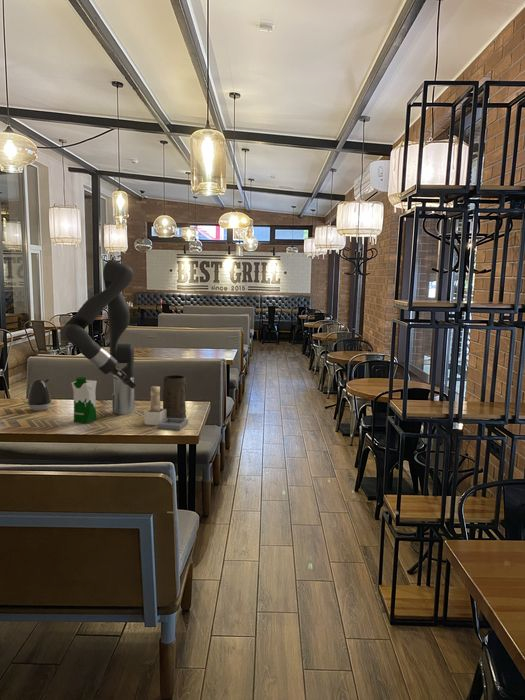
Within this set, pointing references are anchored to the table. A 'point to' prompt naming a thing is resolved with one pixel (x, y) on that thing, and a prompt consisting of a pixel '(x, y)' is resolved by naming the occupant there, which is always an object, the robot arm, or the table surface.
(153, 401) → the birch pin
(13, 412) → the table surface
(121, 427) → the table surface
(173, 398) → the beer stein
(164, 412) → the light grey square box
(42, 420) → the table surface
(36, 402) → the dark grey rounded piece
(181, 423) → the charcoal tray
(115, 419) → the table surface
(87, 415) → the milk carton
